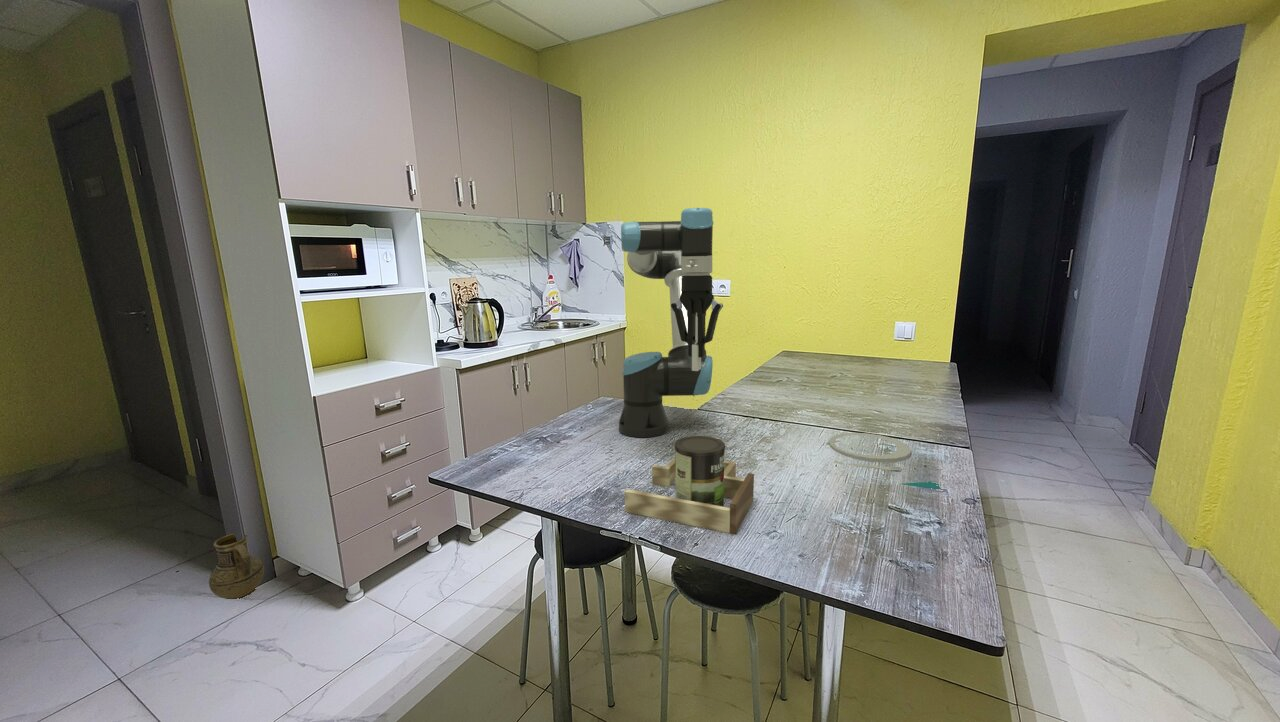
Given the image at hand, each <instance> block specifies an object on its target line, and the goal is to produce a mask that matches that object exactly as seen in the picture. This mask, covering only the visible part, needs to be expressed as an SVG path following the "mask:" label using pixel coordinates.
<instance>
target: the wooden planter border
mask: <svg viewBox="0 0 1280 722" xmlns="http://www.w3.org/2000/svg"><path fill="white" fill-rule="evenodd" d="M736 470H737V462H734V461H729V460H724V499H731V502H729V507H726V506H724V507H722V506H717V505H711V504H706V503H700V502H695V501H689V500H684V499H678V498H676V497H671V496H666V495H661V494H655V493H650V492H644V491H639V490H634V489H629V488H627V489H625V491H624V510H625V513H629V514H634V515H638V516H645V517H648V518H653V519H659V520H663V521H668V522H673V523H676V524H677V523H678V524H683V525H688V526H693V527H697V528H703V529H707V530H712V531H717V532H722V533H727V534H732V535H737V533H738V532H739V529H740V527H741V526H742V523H743V522H744V519H745V517H746V515H747V513H748V511H749V509H750V508H751V506H752V503H753V502H754V492H755V489H754V487H755V480H754V479H755V473H752V472H748V473H747V475H746V476H745V478H741V477H737V476H736V473H737V471H736ZM673 482H675V457H673V458H672V459H671V460H670V462H668V463H667V464H666V465H665V466H663V465H657V464H653V465H652V466H651V484H652V485H655V486H661V487H666V488H669V487H671V486H675V483H673Z"/></svg>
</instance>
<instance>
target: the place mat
mask: <svg viewBox="0 0 1280 722" xmlns="http://www.w3.org/2000/svg"><path fill="white" fill-rule="evenodd" d="M847 436H852V437H853V436H863V437H872V438H875V439H876V438H877V439H880V440H884V441H887V442H889V443H892V444H894V445H895V447H896V450H895V451H893V452H892V453H889V454H884V455H868V454H860V453H854V452H851V451H848V450H845V449H842V448H839V447H837V445H836V444H835V443H836V441H837V439H839V438H843V437H847ZM828 445H829V447H830V448H831V449H832V450H833V451H834V452H836V453H837V454H840V455H842V456H845V457H848V458H851V459H854V460H858V461H864V462H869V463H881V464H882V463H883V464H885V463H887V464H889V463H897V462H902V461H905V460H907V459H908V458H910V457H911V454H912V449H911V447H910V446H909V445H908V444H906V443H905V442H903V441H901V440H899V439H897V438H892V437H889V436H885V435H880V434H873V433H867V432H866V433H865V432H847V433H839V434H836V435H833V436H831V437H830V438H829V439H828ZM834 463H835V464H840V465H846V466H847V465H848V466H853V467H861V468H869V469H874V470H875V469H876V470H884V471H889V472H890V471H902V470H903V467H902V466H901V465H900V466H879V465H873V464H872V465H871V464H864V463H863V464H862V463H854V462H851V463H847V464H846V463H844V462H843V461H837V460H835V461H834ZM935 481H936V480H935ZM935 481H934V482H935ZM927 482H928V483H927ZM901 485H905V486H910V487H911V486H912V487H914V489H916V490H922V491H923V490H924V491H931V492H936V491H937V490H936V489H940V490H943V491H937V492H939V493H943V492H946V493H945V494H949V492H948V489H947V488H946V489H941V488H940V487H939V486H940V485H939V483H938V484H936V483H932V481H919V482H905V483H901ZM936 485H938V486H936ZM931 488H932V489H931Z"/></svg>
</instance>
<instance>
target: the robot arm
mask: <svg viewBox="0 0 1280 722" xmlns="http://www.w3.org/2000/svg"><path fill="white" fill-rule="evenodd" d="M713 219H714V218H713V211H712V209H711V208H708V207H690V208H684V209H682V211H681V213H680V220H675V221H674V220H672V221H671V220H669V221H635V220H634V221H628V222H623V223H622V224H621V226H620V235H621V236H620V240H621V243H620V244H621V250H622V251H623V252H625V253H627V254H626V255H627V256H626V261H627V264H628V267H629V268H630V270H632V272H633V273H634V274H637V275H638V276H640V277H644V278H647V279H651V280H652V279H653V280H664V285H666V287H668V288H669V301H670V303H669V304H670V320H671V321H670V322H671V323H670V324H671V338H672V339H671V341H672V348H671V349H669V350H668V353H667V356H663V354H662V352H660V351H646V352H639V353H636V354H632V355H629V356H627V357H626V358H625V359H624V360H623V362H622V364H623V365H622V375H623V377H622V378H623V381H622V382H623V406H622V410H621V414H620V418H619V420H618V432H619V433H621V434H622V435H625V436H629V437H635V438H648V437H656V436H661V435H664V434H666V433H667V432H668V431H669V420H668V417H667V415H666V412H665V408H664V405H663V397H672V396H673V397H675V396H677V397H678V396H680V397H682V396H684V397H685V396H687V397H688V396H692V397H695V396H701V395H702V396H703V395H707V394H708V393H709V391H710V389H711V383H712V377H713V365H714V363H713V362H714V361H713V356H711V355H707V351H706V344H708V343H710V342H712V341H713V338H714V334H715V331H716V330H715V329H716V326H717V322H718V318H719V314H720V312H721V310H722V309H723V308H724V304H723V303H722V302H718V301H717V300H715V296H714V294H713V276H712V275H710V274H712V273H713V231H714V230H713V229H714V227H713V226H714V220H713ZM710 307H711V313H710V316H709V317H710V318H709V320H708V325H707V329H706V317H707V311H708V310H709V308H710Z"/></svg>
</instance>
